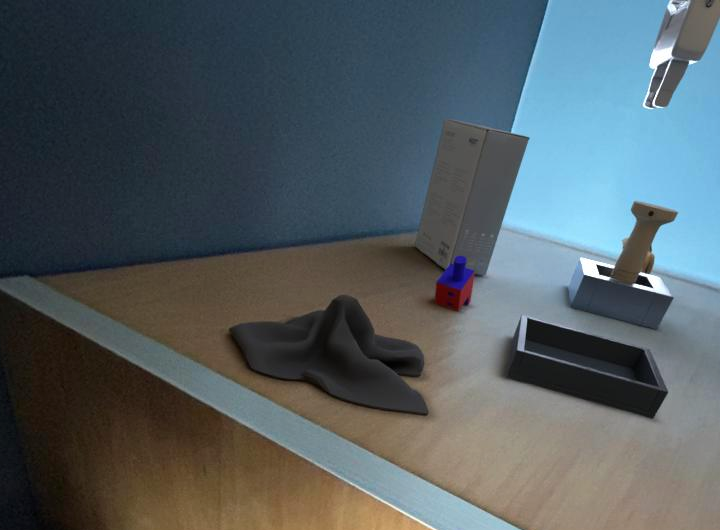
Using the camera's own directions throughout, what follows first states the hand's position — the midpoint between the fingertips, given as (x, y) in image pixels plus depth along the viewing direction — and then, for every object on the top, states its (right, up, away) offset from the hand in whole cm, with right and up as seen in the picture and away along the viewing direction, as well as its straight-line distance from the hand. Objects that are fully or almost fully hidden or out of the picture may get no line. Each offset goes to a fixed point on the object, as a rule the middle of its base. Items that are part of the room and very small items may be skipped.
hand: (653, 107), depth 78 cm
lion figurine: (+12, -12, +32) cm, 36 cm away
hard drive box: (-24, -11, +22) cm, 34 cm away
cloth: (-43, -40, -21) cm, 62 cm away
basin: (-16, -40, -12) cm, 44 cm away
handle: (+2, -22, +16) cm, 27 cm away
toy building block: (-28, -27, +1) cm, 39 cm away
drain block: (+2, -22, +16) cm, 27 cm away
